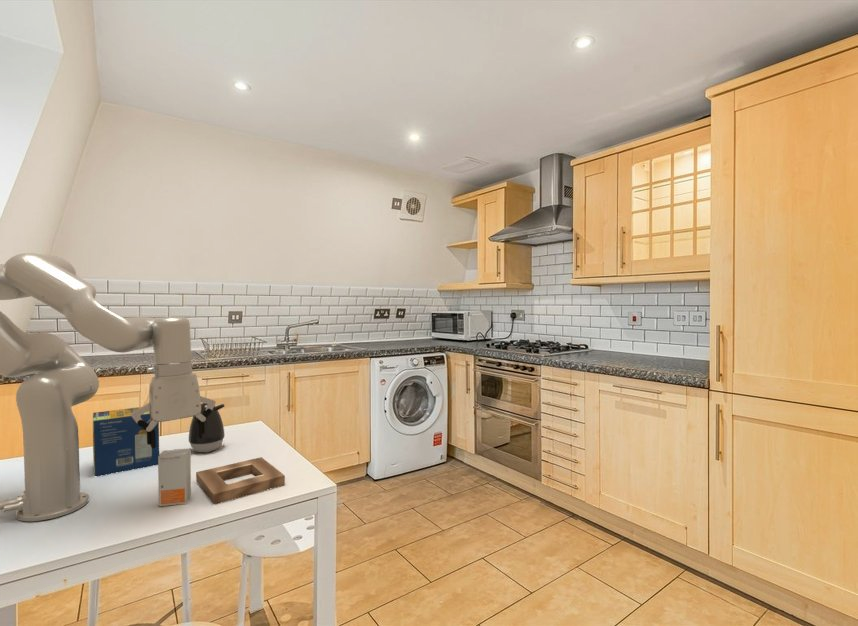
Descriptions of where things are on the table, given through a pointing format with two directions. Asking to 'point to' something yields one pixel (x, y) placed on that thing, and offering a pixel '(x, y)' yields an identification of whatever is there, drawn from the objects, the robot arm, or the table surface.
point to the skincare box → (174, 477)
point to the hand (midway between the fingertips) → (176, 441)
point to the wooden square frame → (222, 492)
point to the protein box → (121, 442)
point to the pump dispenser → (208, 431)
